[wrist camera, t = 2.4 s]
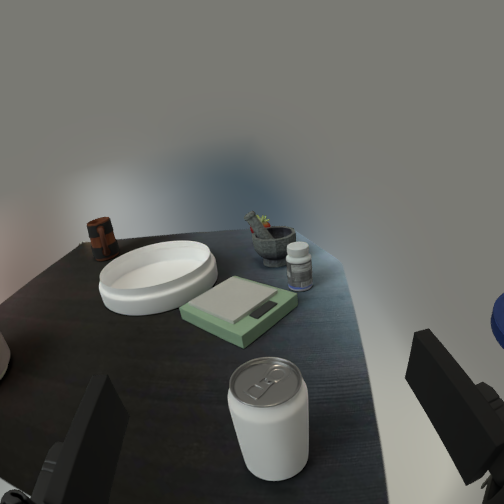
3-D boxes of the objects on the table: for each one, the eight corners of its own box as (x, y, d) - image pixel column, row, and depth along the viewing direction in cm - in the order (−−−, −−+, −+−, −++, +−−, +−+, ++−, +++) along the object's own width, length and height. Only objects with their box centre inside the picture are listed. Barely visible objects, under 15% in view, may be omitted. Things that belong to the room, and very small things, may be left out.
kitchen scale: (298, 305, 55) (297, 289, 54) (243, 349, 46) (240, 332, 45) (236, 286, 65) (233, 272, 64) (182, 318, 55) (178, 303, 54)
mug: (96, 267, 85) (85, 229, 80) (94, 256, 95) (84, 222, 90) (123, 259, 88) (113, 220, 84) (118, 248, 98) (109, 214, 94)
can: (321, 451, 27) (324, 372, 23) (278, 493, 23) (267, 425, 19) (274, 424, 32) (263, 343, 28) (232, 460, 28) (206, 383, 23)
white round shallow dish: (159, 329, 53) (150, 302, 51) (82, 299, 66) (75, 278, 64) (241, 265, 74) (238, 243, 72) (160, 255, 87) (155, 236, 85)
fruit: (268, 247, 82) (265, 217, 79) (249, 247, 84) (245, 217, 82) (274, 240, 87) (271, 211, 84) (256, 240, 89) (252, 212, 86)
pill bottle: (289, 280, 64) (286, 241, 61) (313, 280, 63) (311, 240, 60) (287, 292, 60) (283, 250, 57) (312, 291, 59) (310, 249, 56)
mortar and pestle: (301, 253, 76) (297, 204, 72) (294, 270, 68) (289, 216, 63) (256, 253, 80) (249, 206, 75) (243, 270, 72) (236, 218, 67)
